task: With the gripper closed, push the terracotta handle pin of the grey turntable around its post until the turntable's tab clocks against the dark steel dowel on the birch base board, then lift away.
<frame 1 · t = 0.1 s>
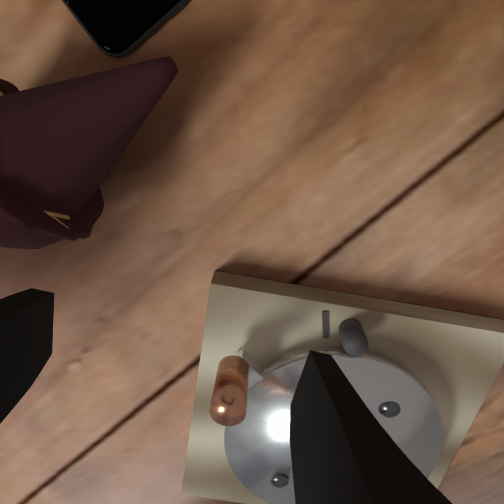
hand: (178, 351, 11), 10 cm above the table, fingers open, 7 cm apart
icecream: (67, 152, 19), on the table
grey turntable: (319, 450, 20), point 4 cm above the table, hinge at 40.0°
post base: (324, 405, 24), on the table
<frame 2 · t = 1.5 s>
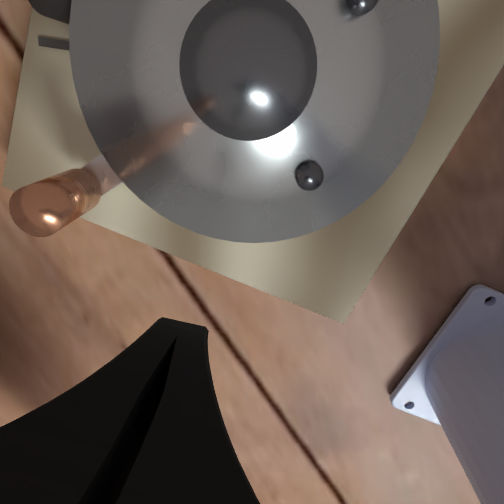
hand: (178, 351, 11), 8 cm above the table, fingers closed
grey turntable: (217, 92, 12), point 4 cm above the table, hinge at 40.0°
post base: (254, 76, 15), on the table
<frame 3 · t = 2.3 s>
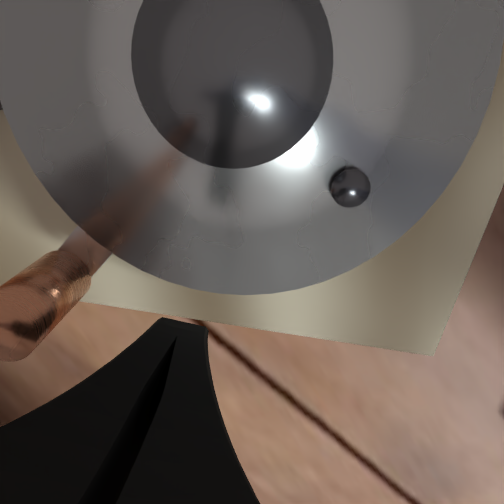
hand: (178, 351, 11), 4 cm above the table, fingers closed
grey turntable: (198, 110, 9), point 4 cm above the table, hinge at 40.0°
post base: (245, 76, 12), on the table
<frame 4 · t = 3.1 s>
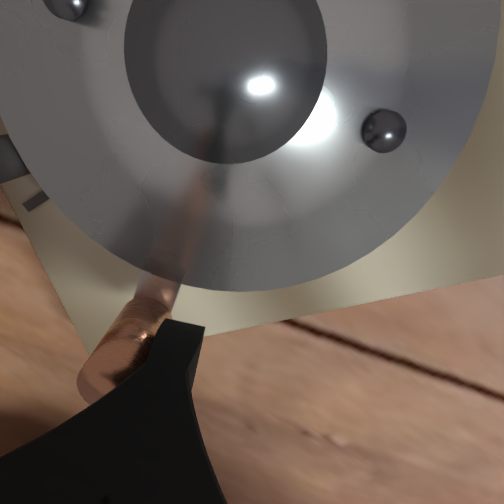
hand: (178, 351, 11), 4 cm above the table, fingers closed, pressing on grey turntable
grey turntable: (210, 117, 9), point 4 cm above the table, hinge at 38.3°, touching gripper
post base: (241, 72, 12), on the table
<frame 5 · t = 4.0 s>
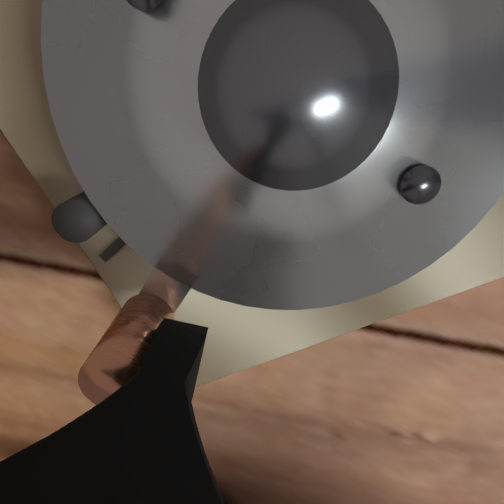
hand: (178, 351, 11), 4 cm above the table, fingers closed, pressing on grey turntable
grey turntable: (265, 138, 9), point 4 cm above the table, hinge at 16.4°, touching gripper
post base: (286, 92, 12), on the table
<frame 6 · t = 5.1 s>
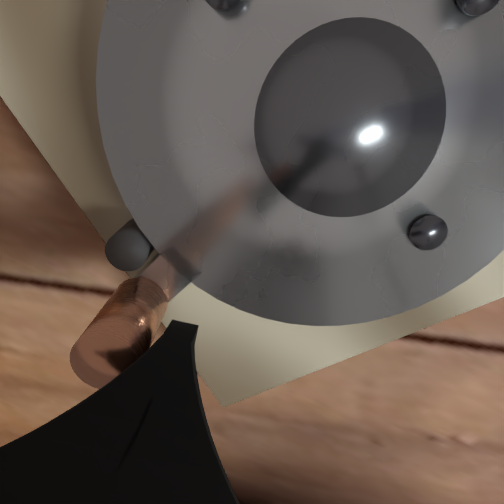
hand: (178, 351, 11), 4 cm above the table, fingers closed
grey turntable: (304, 159, 9), point 4 cm above the table, hinge at 0.4°, touching gripper
post base: (320, 115, 12), on the table
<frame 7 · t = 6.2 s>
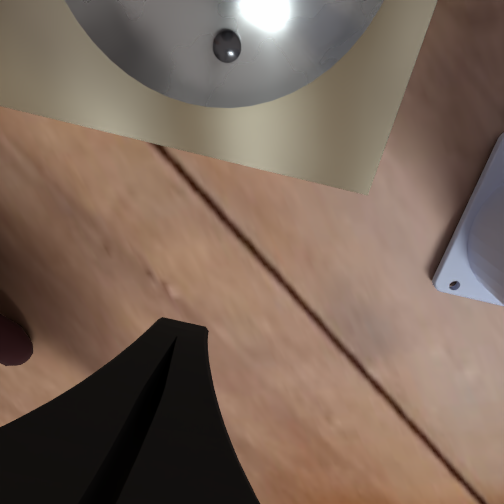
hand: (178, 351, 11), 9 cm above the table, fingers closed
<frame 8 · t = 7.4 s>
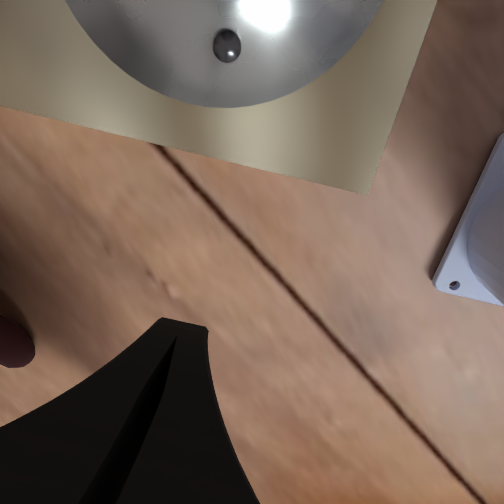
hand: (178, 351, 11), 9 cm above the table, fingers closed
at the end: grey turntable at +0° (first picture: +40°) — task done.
